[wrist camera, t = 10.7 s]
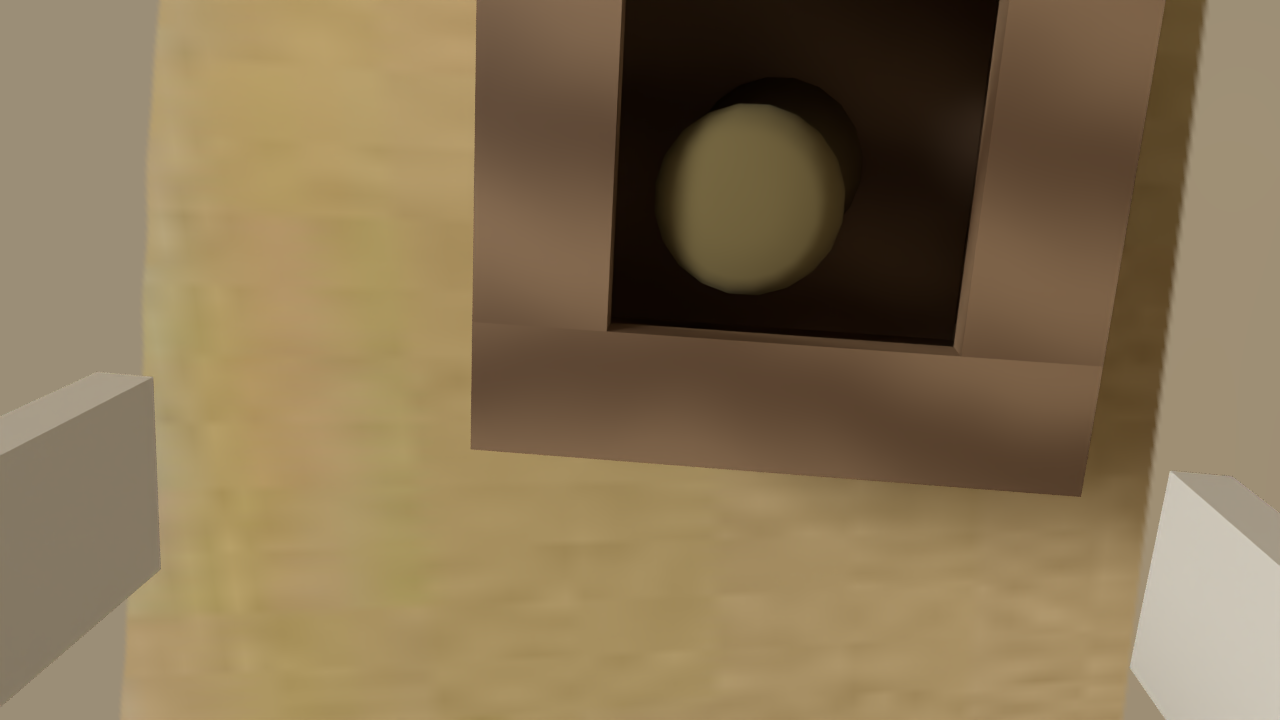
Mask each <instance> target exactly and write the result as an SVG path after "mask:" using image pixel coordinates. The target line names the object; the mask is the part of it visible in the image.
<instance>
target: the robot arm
mask: <svg viewBox="0 0 1280 720" xmlns="http://www.w3.org/2000/svg"><path fill="white" fill-rule="evenodd" d="M160 569H161V563H160V538H159V513H158V487H157V462H156V436H155V411H154V386H153V377H148V376H137V375H126V374H115V373H105V372H95V373H93V374H91V375H89V376H87V377H84V378H82V379H80V380H78V381H76V382H74V383H71V384H69V385H67V386H65V387H63V388H61V389H58V390H56V391H54V392H52V393H50V394H47V395H45V396H43V397H41V398H39V399H37V400H34V401H32V402H31V403H28V404H26V405H24V406H21V407H19V408H17V409H15V410H13V411H11V412H8V413H6V414H4V415H2V416H0V707H1V706H2V705H3V704H4V703H6V702H7V701H8V700H9V699H10V698H12V697H13V696H14V695H15V694H16V693H17V692H19V691H20V690H21V689H22V688H23V687H24V686H26V685H27V684H28V683H29V682H30V681H31V680H32V679H34V678H35V677H36V676H37V675H38V674H39V673H41V672H42V671H43V670H44V669H45V668H46V667H48V666H49V665H50V664H51V663H52V662H53V661H55V660H56V659H57V658H58V657H59V656H60V655H62V654H63V653H64V652H65V651H66V650H67V649H68V648H70V647H71V646H72V645H73V644H74V643H75V642H77V641H78V640H79V639H80V638H81V637H82V636H84V635H85V634H86V633H87V632H88V631H89V630H91V629H92V628H93V627H94V626H95V625H96V624H98V622H100V621H101V620H102V619H103V618H105V617H106V616H107V615H108V614H109V613H110V612H112V611H113V610H114V609H115V608H116V607H117V606H118V605H120V604H121V603H122V602H123V601H124V600H125V599H127V598H128V597H129V596H130V595H131V594H132V593H134V592H135V591H136V590H137V589H138V588H139V587H141V586H142V585H143V584H144V583H145V582H146V581H148V580H149V579H150V578H151V577H152V576H153V575H155V574H156V573H157V572H158V571H159V570H160ZM1130 669H1131V670H1132V672H1133V673H1134V675H1135V676H1136V677H1137V679H1138V680H1139V682H1140V683H1141V685H1142V686H1143V688H1144V689H1145V690H1146V692H1147V693H1148V695H1149V696H1150V698H1151V699H1152V701H1153V702H1154V703H1155V705H1156V706H1157V708H1158V709H1159V711H1160V712H1161V714H1162V715H1163V717H1164V718H1165V719H1166V720H1280V513H1279V512H1278V511H1277V510H1276V509H1274V508H1273V507H1272V506H1270V505H1269V504H1268V503H1267V502H1265V501H1264V500H1262V499H1261V498H1260V497H1259V496H1257V495H1256V494H1255V493H1254V492H1252V491H1251V490H1250V489H1248V488H1247V487H1246V486H1244V485H1243V484H1242V483H1241V482H1239V481H1238V480H1237V479H1236V478H1234V477H1233V476H1225V475H1214V474H1203V473H1193V472H1182V471H1181V472H1180V471H1171V470H1170V473H1169V477H1168V482H1167V487H1166V492H1165V497H1164V502H1163V507H1162V512H1161V516H1160V522H1159V526H1158V531H1157V536H1156V541H1155V546H1154V551H1153V556H1152V561H1151V565H1150V571H1149V576H1148V580H1147V586H1146V590H1145V595H1144V600H1143V605H1142V610H1141V615H1140V620H1139V624H1138V629H1137V634H1136V639H1135V644H1134V649H1133V654H1132V659H1131V663H1130Z"/></svg>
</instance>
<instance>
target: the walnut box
mask: <svg viewBox="0 0 1280 720" xmlns="http://www.w3.org/2000/svg"><path fill="white" fill-rule="evenodd" d="M1165 1H1166V0H477V13H476V88H475V164H474V239H473V314H472V389H471V449H474V450H487V451H499V452H512V453H525V454H538V455H551V456H564V457H576V458H589V459H602V460H615V461H628V462H641V463H654V464H666V465H679V466H692V467H705V468H718V469H731V470H743V471H756V472H769V473H782V474H795V475H808V476H821V477H833V478H846V479H859V480H872V481H885V482H898V483H910V484H923V485H936V486H949V487H962V488H975V489H988V490H1000V491H1013V492H1026V493H1039V494H1052V495H1065V496H1077V497H1081V493H1082V487H1083V482H1084V476H1085V470H1086V464H1087V458H1088V452H1089V446H1090V441H1091V435H1092V429H1093V423H1094V417H1095V411H1096V405H1097V400H1098V394H1099V388H1100V382H1101V376H1102V370H1103V364H1104V359H1105V353H1106V347H1107V341H1108V335H1109V329H1110V323H1111V318H1112V312H1113V306H1114V300H1115V294H1116V288H1117V282H1118V277H1119V271H1120V265H1121V259H1122V253H1123V247H1124V242H1125V236H1126V230H1127V224H1128V218H1129V212H1130V206H1131V201H1132V195H1133V189H1134V183H1135V177H1136V171H1137V165H1138V160H1139V154H1140V148H1141V142H1142V136H1143V130H1144V124H1145V119H1146V113H1147V107H1148V101H1149V95H1150V89H1151V83H1152V78H1153V72H1154V66H1155V60H1156V54H1157V48H1158V42H1159V37H1160V31H1161V25H1162V19H1163V13H1164V7H1165ZM765 77H778V78H795V79H798V80H801V81H804V82H806V83H809V84H812V85H814V86H817V87H820V88H821V89H822V90H823V91H825V92H826V93H827V94H828V95H830V96H831V97H832V98H833V99H835V100H836V101H837V102H838V103H840V104H841V105H842V107H843V109H844V110H845V112H846V113H847V115H848V116H849V118H850V120H851V121H852V123H853V124H854V126H855V127H856V131H857V135H858V139H859V143H860V147H861V151H862V167H861V180H860V184H859V187H858V189H857V191H856V194H855V196H854V199H853V201H852V204H851V206H850V208H849V209H848V210H847V211H846V213H845V214H844V215H843V223H842V225H841V228H840V230H839V232H838V235H837V237H836V240H835V242H834V245H833V247H832V250H831V251H830V252H829V253H828V254H827V255H826V257H825V258H824V259H823V260H822V261H821V262H820V264H819V265H818V266H817V267H816V268H815V270H814V271H813V272H812V273H810V274H809V275H807V276H806V277H804V278H802V279H801V280H799V281H797V282H796V283H794V284H793V285H791V286H789V287H788V288H785V289H781V290H777V291H773V292H769V293H765V294H761V295H746V294H730V293H726V292H723V291H721V290H718V289H716V288H713V287H710V286H708V285H705V284H703V283H701V282H699V281H698V280H697V279H696V278H694V277H693V276H692V275H691V274H689V273H688V272H687V271H686V270H684V269H683V268H682V267H681V266H679V264H678V263H677V261H676V260H675V258H674V257H673V255H672V254H671V252H670V251H669V249H668V248H667V246H666V245H665V244H664V242H663V240H662V237H661V233H660V230H659V226H658V223H657V220H656V216H655V213H654V205H655V181H656V178H657V175H658V173H659V170H660V167H661V164H662V161H663V158H664V155H665V153H666V152H667V151H668V149H669V148H670V147H671V145H672V144H673V143H674V141H675V140H676V139H677V137H678V136H679V135H680V134H681V132H682V131H683V130H684V129H685V128H687V127H688V126H690V125H691V124H693V123H694V122H696V121H697V120H698V119H700V118H701V117H703V116H704V115H706V114H707V113H709V111H710V110H711V109H712V107H713V106H714V105H715V103H716V102H717V101H718V100H719V99H721V98H722V97H724V96H725V95H727V94H728V93H729V92H731V91H732V90H734V89H735V88H737V87H738V86H739V85H742V84H745V83H749V82H752V81H755V80H759V79H762V78H765Z"/></svg>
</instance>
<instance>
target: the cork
mask: <svg viewBox="0 0 1280 720" xmlns="http://www.w3.org/2000/svg"><path fill="white" fill-rule="evenodd" d="M861 167H862V151H861V147H860V143H859V139H858V135H857V131H856V127H855V126H854V124H853V123H852V121H851V120H850V118H849V116H848V115H847V113H846V112H845V110H844V109H843V107H842V105H841V104H840V103H838V102H837V101H836V100H835V99H833V98H832V97H831V96H830V95H828V94H827V93H826V92H825V91H823V90H822V89H821V88H820V87H817V86H814V85H812V84H809V83H806V82H804V81H801V80H798V79H795V78H778V77H765V78H762V79H759V80H755V81H752V82H749V83H745V84H742V85H739V86H738V87H737V88H735V89H734V90H732V91H731V92H729V93H728V94H727V95H725V96H724V97H722V98H721V99H719V100H718V101H717V102H716V103H715V105H714V106H713V107H712V109H711V110H710V111H709V113H707V114H706V115H704V116H703V117H701V118H700V119H698V120H697V121H696V122H694V123H693V124H691V125H690V126H688V127H687V128H685V129H684V130H683V131H682V132H681V134H680V135H679V136H678V137H677V139H676V140H675V141H674V143H673V144H672V145H671V147H670V148H669V149H668V151H667V152H666V153H665V155H664V158H663V161H662V164H661V167H660V170H659V173H658V175H657V178H656V181H655V205H654V213H655V216H656V220H657V223H658V226H659V230H660V233H661V237H662V240H663V242H664V244H665V245H666V246H667V248H668V249H669V251H670V252H671V254H672V255H673V257H674V258H675V260H676V261H677V263H678V264H679V266H681V267H682V268H683V269H684V270H686V271H687V272H688V273H689V274H691V275H692V276H693V277H694V278H696V279H697V280H698V281H699V282H701V283H703V284H705V285H708V286H710V287H713V288H716V289H718V290H721V291H723V292H726V293H730V294H746V295H761V294H765V293H769V292H773V291H777V290H781V289H785V288H788V287H789V286H791V285H793V284H794V283H796V282H797V281H799V280H801V279H802V278H804V277H806V276H807V275H809V274H810V273H812V272H813V271H814V270H815V268H816V267H817V266H818V265H819V264H820V262H821V261H822V260H823V259H824V258H825V257H826V255H827V254H828V253H829V252H830V251H831V250H832V247H833V245H834V242H835V240H836V237H837V235H838V232H839V230H840V228H841V225H842V223H843V215H844V214H845V213H846V211H847V210H848V209H849V208H850V206H851V204H852V201H853V199H854V196H855V194H856V191H857V189H858V187H859V184H860V180H861Z"/></svg>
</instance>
